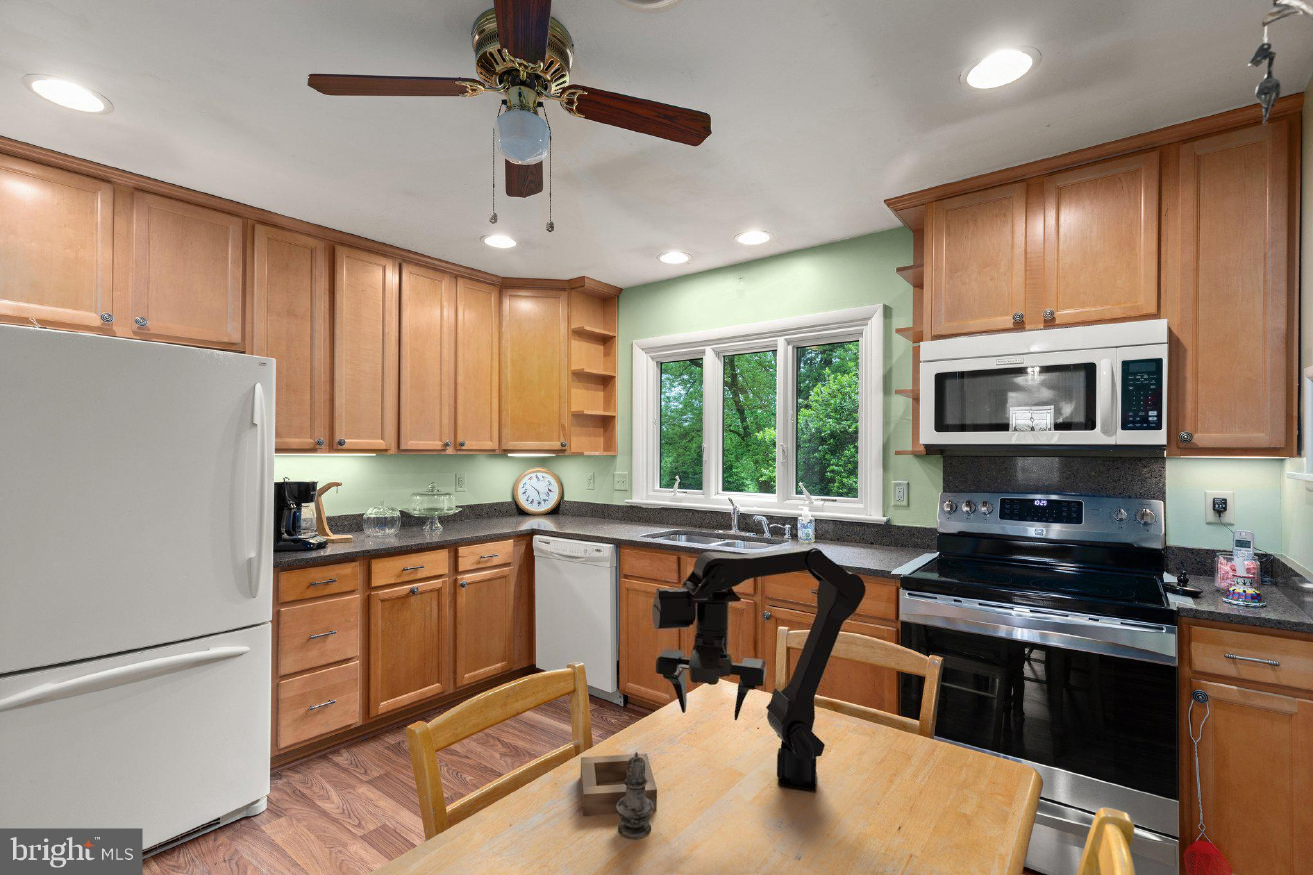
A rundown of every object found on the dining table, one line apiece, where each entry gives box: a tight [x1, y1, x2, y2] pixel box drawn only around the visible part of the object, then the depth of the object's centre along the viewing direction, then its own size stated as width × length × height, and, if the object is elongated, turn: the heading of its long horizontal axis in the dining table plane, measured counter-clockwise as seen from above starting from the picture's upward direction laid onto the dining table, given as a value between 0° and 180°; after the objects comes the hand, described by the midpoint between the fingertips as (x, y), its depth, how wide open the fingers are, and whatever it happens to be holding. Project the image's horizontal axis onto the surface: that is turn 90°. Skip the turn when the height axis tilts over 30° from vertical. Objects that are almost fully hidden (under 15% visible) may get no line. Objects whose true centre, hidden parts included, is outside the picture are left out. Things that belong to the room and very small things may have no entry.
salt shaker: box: [616, 751, 654, 841], centre depth 99 cm, size 6×6×12 cm
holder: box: [580, 753, 658, 817], centre depth 108 cm, size 12×12×4 cm
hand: (709, 715), depth 110 cm, fingers open, 9 cm apart
